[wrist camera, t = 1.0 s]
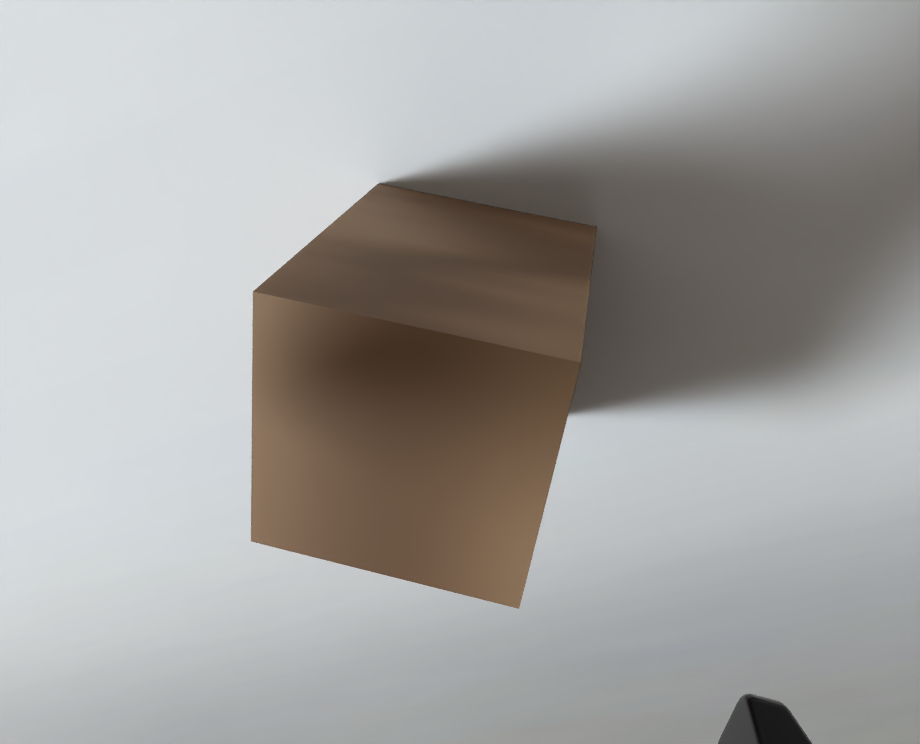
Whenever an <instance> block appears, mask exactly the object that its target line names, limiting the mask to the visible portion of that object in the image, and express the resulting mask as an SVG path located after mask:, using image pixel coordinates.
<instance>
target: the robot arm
mask: <svg viewBox="0 0 920 744" xmlns="http://www.w3.org/2000/svg"><path fill="white" fill-rule="evenodd" d="M718 744H812V743H811V741H810V740H809V738H808V737H807V735H806V734H805V732H804V731H803V729H802V728H801V726H800V725H799V723H798V722H797V721H796V719H795V718H794V716H793V715H792V713H791V712H790V710H789V709H788V708H787V707H786V706H785V705H784V704H783V703H781V702H779V701H776V700H772V699H768V698H764V697H760V696H756V695H753V694H745V695H743V696H742V697H741V698H740V699H739V701H738V702H737V705H736V707H735V709H734V711H733V713H732V715H731V717H730V719H729V721H728V723H727V725H726V727H725V729H724V731H723V733H722V735H721V737H720V739H719V742H718Z"/></svg>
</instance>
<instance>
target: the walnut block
mask: <svg viewBox="0 0 920 744" xmlns="http://www.w3.org/2000/svg"><path fill="white" fill-rule="evenodd" d="M596 229H597V227H594V226H589V225H584V224H579V223H574V222H569V221H564V220H559V219H554V218H549V217H544V216H539V215H534V214H529V213H524V212H519V211H514V210H509V209H504V208H499V207H494V206H489V205H484V204H479V203H473V202H468V201H463V200H458V199H453V198H448V197H443V196H438V195H433V194H428V193H423V192H418V191H413V190H408V189H403V188H398V187H393V186H388V185H383V184H377V185H376V186H375V187H374V188H373V189H371V190H370V191H369V192H368V193H367V194H366V195H365V196H363V197H362V198H361V199H360V200H359V201H358V202H356V203H355V204H354V205H353V206H352V207H351V208H349V209H348V210H347V211H346V212H345V213H344V214H342V215H341V216H340V217H339V218H338V219H337V220H336V221H334V222H333V223H332V224H331V225H330V226H329V227H327V228H326V229H325V230H324V231H323V232H322V233H320V234H319V235H318V236H317V237H316V238H315V239H313V240H312V241H311V242H310V243H309V244H308V245H307V246H305V247H304V248H303V249H302V250H301V251H300V252H298V253H297V254H296V255H295V256H294V257H293V258H291V259H290V260H289V261H288V262H287V263H286V264H284V265H283V266H282V267H281V268H280V269H279V270H277V271H276V272H275V273H274V274H273V275H272V276H271V277H269V278H268V279H267V280H266V281H265V282H264V283H262V284H261V285H260V286H259V287H258V288H257V289H255V290H254V291H253V363H252V494H251V541H252V542H256V543H260V544H264V545H268V546H272V547H276V548H280V549H284V550H288V551H292V552H296V553H300V554H304V555H308V556H312V557H316V558H320V559H324V560H328V561H332V562H336V563H340V564H344V565H348V566H352V567H356V568H359V569H363V570H367V571H371V572H375V573H379V574H383V575H387V576H391V577H395V578H399V579H403V580H407V581H411V582H415V583H419V584H423V585H427V586H431V587H435V588H439V589H443V590H447V591H451V592H455V593H459V594H463V595H467V596H471V597H475V598H479V599H483V600H487V601H491V602H495V603H499V604H503V605H507V606H511V607H515V608H519V606H520V602H521V599H522V595H523V591H524V587H525V583H526V579H527V575H528V571H529V567H530V563H531V559H532V555H533V551H534V547H535V543H536V539H537V535H538V531H539V527H540V523H541V519H542V515H543V511H544V508H545V504H546V500H547V496H548V492H549V488H550V484H551V480H552V476H553V472H554V468H555V464H556V460H557V456H558V452H559V448H560V444H561V440H562V436H563V432H564V428H565V424H566V420H567V416H568V413H569V409H570V405H571V401H572V397H573V393H574V389H575V385H576V381H577V377H578V373H579V369H580V365H581V359H582V350H583V342H584V333H585V324H586V316H587V307H588V298H589V290H590V281H591V272H592V263H593V255H594V246H595V237H596Z"/></svg>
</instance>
